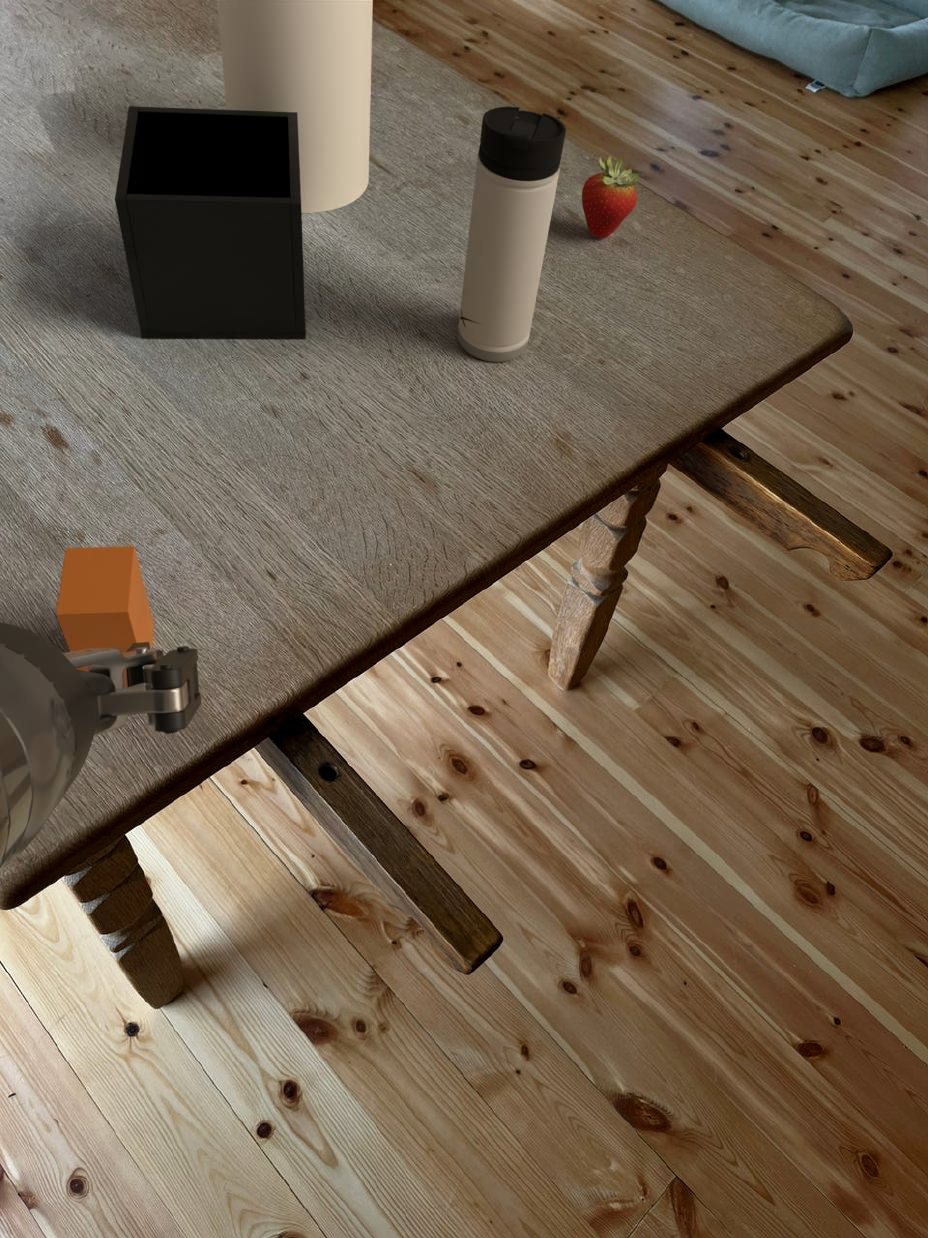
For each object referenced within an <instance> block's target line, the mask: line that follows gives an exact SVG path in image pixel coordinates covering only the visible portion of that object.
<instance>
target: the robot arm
mask: <svg viewBox="0 0 928 1238" xmlns="http://www.w3.org/2000/svg"><path fill="white" fill-rule="evenodd" d="M198 661H199V655H198V648H195V647H194V648H193V647H192V648H190V647H189V646H188V645H184V646H177V647H176V649H171V650H169V651H168V652H166V653H165V654H164V650H162V649H153V648H152V649H150V644H149V642H140V643H133V644H132V645H131V646H130V648H129V649H128V650H127V651H126V652H125V653H121V651H120V650H119V649H117V648H96V647H92V648H87V649H82V650H77V651H72V652H70V651H67V652H62V651H61V650H60V649H59V648H57V646H55V645H54V644H52V642H50V641H49V640H47V639H45V638H44V637H42V636H41V635H39V634H37V633H35V632H33V631H31V630H29V629H26V628H24V627H21V626H18V625H15V624H12V623H8V622H3V621H0V872H2V870H4V868H6V867H7V866H8V865H9V864H11V863H12V862H13V861H14V860H15V859H16V858H18V857H19V856H20V854H22V853H23V852H24V851H25V849H27V847H28V846H29V845H30V844H31V842H33V840H34V839H35V838H36V837H37V836H38V834H39V833H40V831H41V830H42V829H43V827H44V826H45V824H46V822H47V821H48V820H49V818H50V817H51V815H52V814H53V812H54V811H55V809H56V808H57V806H59V804H60V802H61V801H62V799H63V798H64V796H65V795H66V793H67V792H68V790H69V789H70V788H71V786H72V785H73V783H74V782H75V780H76V779H77V777H78V776H79V774H80V772H81V771H82V769H83V766H84V765H85V763H86V760H87V758H88V756H89V753H90V750H91V747H92V745H93V742H94V739H95V738H94V737H96V736H99V735H102V734H106V733H109V732H112V731H115V730H119V729H121V728H124V726H125V725H126V724H127V721H128V719H129V718H128V717H129V716H131V715H132V716H133V715H146V720H147V721H146V722H147V725H148V726H154V731H155V732H158V733H164V734H168V735H169V734H176V733H178V732H179V731H182V730H185V729H187V727H188V726H189V724H190V723H191V722H192V720H193V718H194V717H195V714H196V713H197V711H198V710H199V708H200V707H201V705H202V693H201V692H200V683H199V671H198ZM85 666H87V667H88V670H89V672H87V671H82V670H77V668H81V667H85ZM125 670H126V673H127V685H128V687H124V677H123V675H124V671H125Z"/></svg>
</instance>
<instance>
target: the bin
mask: <svg viewBox="0 0 928 1238" xmlns="http://www.w3.org/2000/svg"><path fill="white" fill-rule="evenodd" d="M122 142H123V143H122V148H121V154H120V155H121V156H120V162H119V168H118V175H117V181H116V189H115V195H114V203H115V208H116V214H117V220H118V224H119V229H120V234H121V239H122V244H123V249H124V254H125V259H126V265H127V270H128V275H129V280H130V285H131V291H132V295H133V301H134V306H135V311H136V316H137V322H138V326H139V327H138V328H139V332H140V337H141V339H167V340H168V339H169V340H170V339H174V340H175V339H178V340H179V339H180V340H181V339H185V340H186V339H188V340H189V339H191V340H192V339H195V340H197V339H198V340H201V339H202V340H203V339H206V340H213V339H214V340H236V339H237V340H306V339H307V329H306V328H307V327H306V305H305V304H306V303H305V274H304V273H305V271H304V246H303V242H304V241H303V217H302V215H303V213H302V212H301V187H300V162H299V138H298V114H297V112H274V111H247V110H227V109H219V108H217V109H216V108H190V107H167V106H166V107H163V106H135V105H129V106H128V109H127V116H126V123H125V129H124V136H123V141H122Z"/></svg>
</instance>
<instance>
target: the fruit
mask: <svg viewBox="0 0 928 1238" xmlns="http://www.w3.org/2000/svg"><path fill="white" fill-rule="evenodd" d="M598 163H599V167H600V168H601V170H602V171H601V172H598V173H595V174H593V175H591V176H590V177H588V178H587V179H586V180H585V182H584V184H583V186H582V190H581V205H582V210H583V213H584V216H585V223H586V226H587V229H588V231H589V233H590V234H591V235H592V236H593V238H595V239H599V240H600V239H606V238H608V237H609V236H611V235H612V234H613V233H614V232H615V231H616V230H617V229H618V228H619V227H620V225H621V224H622V223H623V221H624V220H625V219H626V218H627V217H628V216H629V215H630V214H631V213H632V212H633V210H634V208H635V207H636V205H637V203H638V194H637V191H636V188H635V187H634V185H637V182H638V178H639V177H640V172H634V173H632V170H633V168H631V167H630V168H629V169H626V170H622V169H623V167H624V161H623V157H622V156H620V157H619V158H618V160H617V161H616V164H615V167H614V164H613V161H612V157H611V155H609V156H608V158H607V159H606V160H605V161H604V162H603V160H602V158H601V157H599V158H598Z"/></svg>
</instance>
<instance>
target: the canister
mask: <svg viewBox="0 0 928 1238" xmlns="http://www.w3.org/2000/svg"><path fill="white" fill-rule="evenodd" d="M373 6H374V0H216V8H217V19H218V30H219V42H220V52H221V60H222V61H221V63H222V73H223V84H224V97H225V105H226V106H225V107H226V110H247V111H274V112H297V114H298V138H299V162H300V187H301V212H302V214H313V213H314V214H316V213H323V212H324V213H325V212H329V211H333V210H337V209H340V208H343V207H345V206H348V205H350V204H351V203H353V202H355V201H356V200H358V199H359V198H360V197H362V196H363V194H364V193H365V191H366V190H367V188H368V185H369V182H370V181H369V180H370V142H371V141H370V137H371V136H370V134H371V99H372V98H371V97H372V96H371V95H372V94H371V91H372V49H373V10H374V9H373Z"/></svg>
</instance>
